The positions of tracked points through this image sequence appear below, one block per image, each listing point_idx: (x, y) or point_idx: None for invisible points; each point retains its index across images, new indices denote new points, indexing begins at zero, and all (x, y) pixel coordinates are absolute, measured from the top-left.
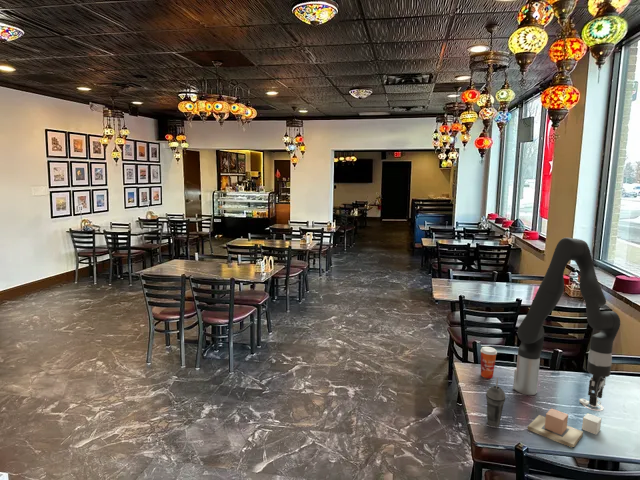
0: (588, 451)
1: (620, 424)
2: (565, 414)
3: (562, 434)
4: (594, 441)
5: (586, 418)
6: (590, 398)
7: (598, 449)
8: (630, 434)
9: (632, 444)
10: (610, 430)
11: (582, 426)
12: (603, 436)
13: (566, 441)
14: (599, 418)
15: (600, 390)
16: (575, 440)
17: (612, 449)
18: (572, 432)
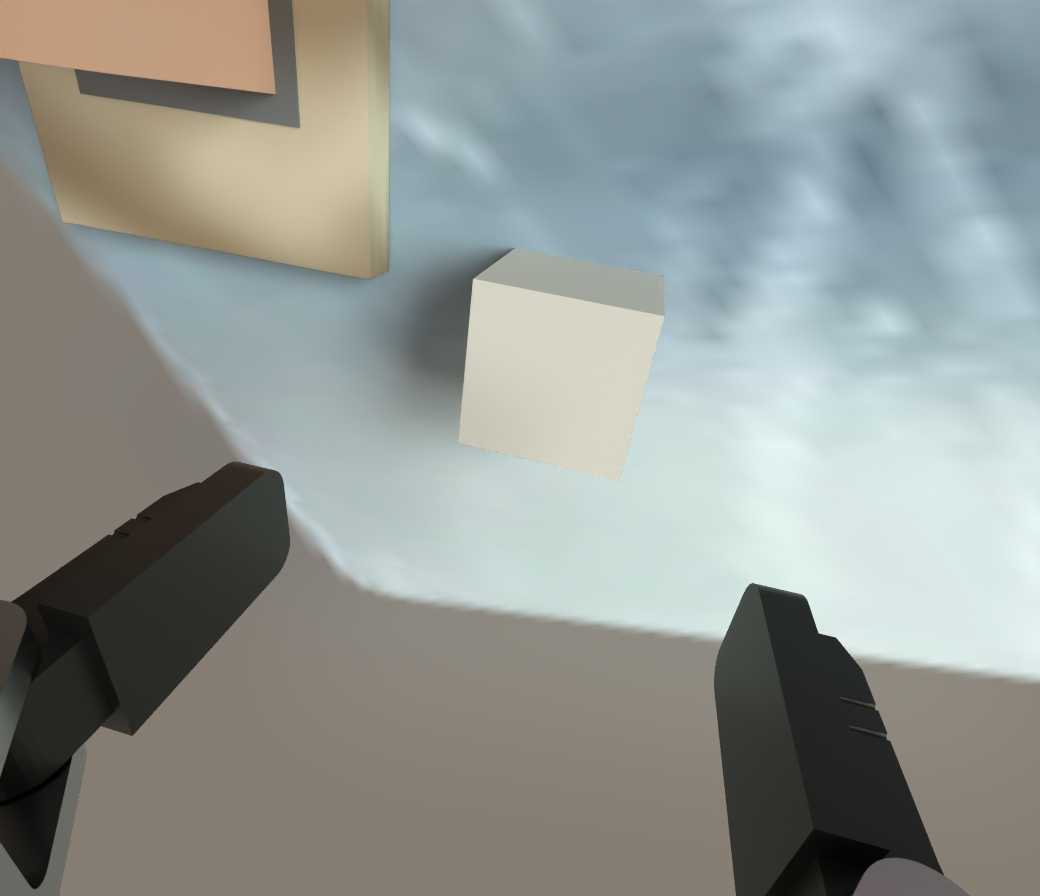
0: (174, 336)
1: (872, 571)
2: (55, 24)
3: (121, 77)
4: (364, 371)
5: (479, 319)
6: (71, 564)
7: (268, 401)
8: (701, 615)
9: (537, 605)
10: (676, 490)
11: (508, 256)
12: None
13: (48, 149)
14: (596, 459)
15: (752, 852)
16: (143, 228)
17: (353, 487)
18: (263, 175)
